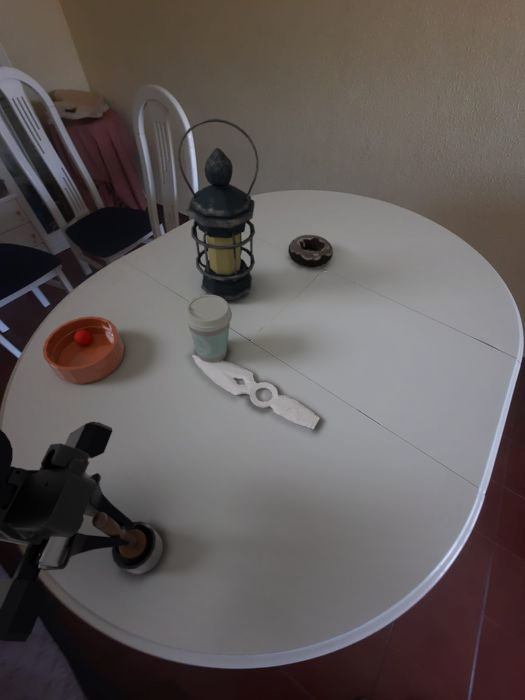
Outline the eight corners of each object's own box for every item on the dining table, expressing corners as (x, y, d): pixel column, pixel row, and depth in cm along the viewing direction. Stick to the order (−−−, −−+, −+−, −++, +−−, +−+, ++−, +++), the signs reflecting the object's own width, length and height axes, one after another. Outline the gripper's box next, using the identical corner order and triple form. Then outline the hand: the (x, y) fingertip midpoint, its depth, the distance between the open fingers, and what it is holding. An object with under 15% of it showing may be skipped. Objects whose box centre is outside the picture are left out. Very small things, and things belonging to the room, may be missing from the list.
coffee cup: (186, 343, 70) (178, 297, 62) (226, 334, 73) (223, 288, 64) (196, 373, 65) (189, 328, 56) (238, 362, 67) (237, 317, 59)
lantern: (192, 305, 78) (161, 134, 51) (202, 270, 86) (180, 106, 59) (254, 309, 78) (256, 138, 51) (258, 273, 86) (261, 110, 59)
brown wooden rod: (124, 564, 42) (82, 543, 32) (118, 538, 44) (77, 510, 33) (150, 550, 43) (117, 525, 33) (143, 525, 45) (110, 495, 34)
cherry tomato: (79, 351, 68) (72, 340, 65) (76, 340, 70) (70, 329, 67) (95, 345, 69) (89, 334, 66) (92, 335, 70) (86, 324, 68)
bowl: (60, 395, 62) (47, 380, 58) (51, 346, 69) (39, 329, 65) (132, 369, 66) (125, 353, 62) (116, 325, 73) (109, 308, 70)
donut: (330, 246, 94) (333, 233, 91) (331, 272, 87) (334, 259, 84) (289, 243, 95) (290, 230, 92) (286, 268, 87) (287, 255, 84)
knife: (308, 438, 58) (309, 436, 57) (181, 366, 67) (181, 363, 66) (323, 411, 61) (324, 409, 60) (201, 346, 70) (200, 344, 69)
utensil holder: (127, 582, 44) (117, 578, 41) (118, 541, 47) (107, 534, 44) (167, 560, 46) (161, 554, 43) (156, 521, 49) (148, 513, 46)
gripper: (-95, 643, 19) (141, 654, 28) (58, 377, 31) (192, 440, 39) (-113, 627, 26) (84, 640, 34) (20, 412, 38) (142, 459, 46)
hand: (130, 534), depth 38 cm, fingers closed on brown wooden rod
